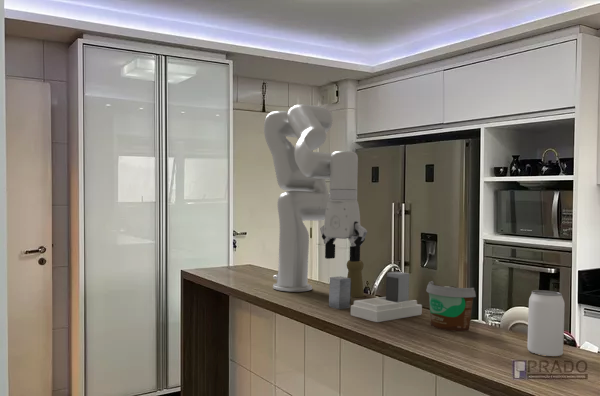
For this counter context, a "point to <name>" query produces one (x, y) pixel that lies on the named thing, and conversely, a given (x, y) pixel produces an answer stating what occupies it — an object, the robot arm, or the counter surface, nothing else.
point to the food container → (450, 307)
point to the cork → (356, 278)
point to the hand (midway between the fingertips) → (342, 259)
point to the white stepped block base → (389, 301)
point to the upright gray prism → (340, 292)
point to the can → (546, 323)
